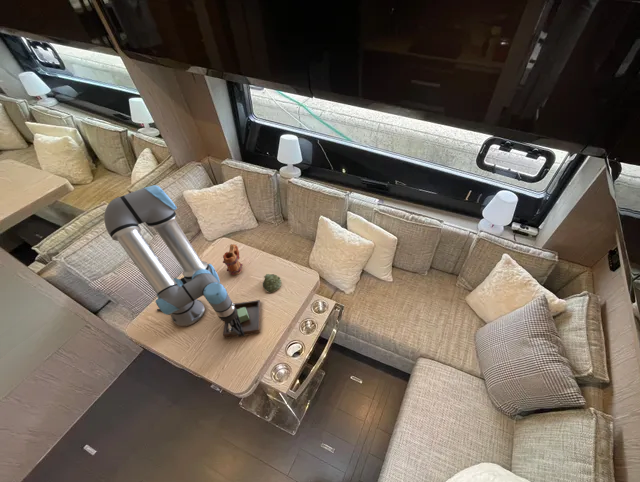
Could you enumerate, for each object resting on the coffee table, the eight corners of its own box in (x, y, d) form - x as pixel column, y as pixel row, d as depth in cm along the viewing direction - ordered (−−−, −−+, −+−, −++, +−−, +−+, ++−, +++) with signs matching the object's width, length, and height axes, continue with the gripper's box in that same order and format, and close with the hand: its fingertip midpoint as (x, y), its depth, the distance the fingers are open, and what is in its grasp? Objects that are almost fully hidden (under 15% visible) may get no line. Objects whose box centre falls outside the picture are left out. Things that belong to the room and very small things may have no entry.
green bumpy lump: (270, 293, 151) (261, 277, 149) (264, 294, 157) (256, 279, 155) (285, 285, 158) (277, 269, 156) (279, 286, 163) (271, 271, 161)
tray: (225, 337, 136) (223, 334, 133) (228, 307, 147) (226, 304, 144) (259, 332, 138) (258, 329, 136) (260, 303, 149) (259, 299, 147)
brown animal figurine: (240, 277, 160) (233, 260, 149) (226, 277, 160) (217, 260, 149) (247, 259, 170) (240, 241, 158) (234, 258, 169) (226, 241, 158)
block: (239, 323, 140) (236, 318, 137) (237, 315, 143) (234, 310, 139) (249, 319, 142) (247, 314, 138) (247, 311, 145) (244, 306, 141)
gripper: (233, 322, 114) (248, 346, 132) (236, 296, 122) (250, 322, 140) (214, 325, 113) (232, 348, 131) (218, 298, 121) (234, 324, 139)
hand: (241, 335), depth 135 cm, fingers closed
